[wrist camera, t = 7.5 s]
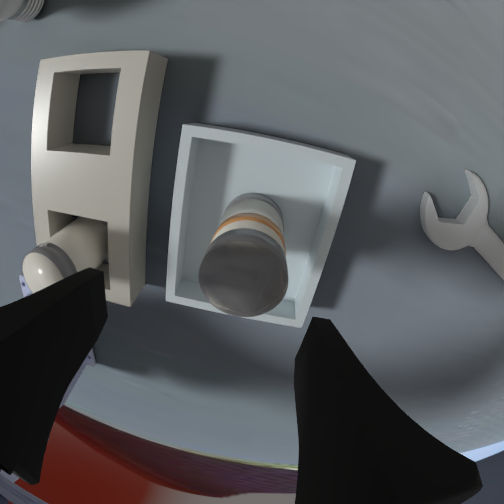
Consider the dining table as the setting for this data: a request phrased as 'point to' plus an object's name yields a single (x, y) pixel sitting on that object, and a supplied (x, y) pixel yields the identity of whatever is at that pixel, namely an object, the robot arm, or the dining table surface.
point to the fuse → (66, 253)
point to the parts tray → (254, 181)
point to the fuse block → (98, 159)
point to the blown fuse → (246, 258)
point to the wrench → (465, 226)
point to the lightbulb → (20, 9)
